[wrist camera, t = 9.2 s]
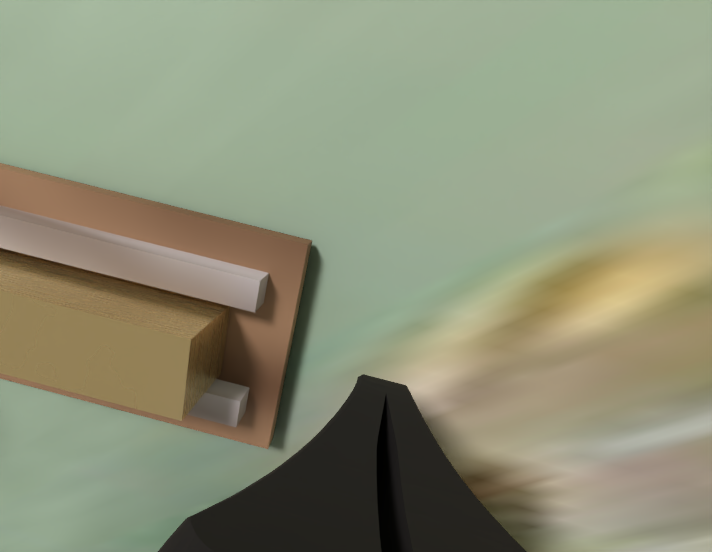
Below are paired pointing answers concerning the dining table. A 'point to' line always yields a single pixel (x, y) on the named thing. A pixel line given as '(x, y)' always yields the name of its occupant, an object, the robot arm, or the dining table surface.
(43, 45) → the dining table surface
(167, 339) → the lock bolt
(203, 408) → the mount
